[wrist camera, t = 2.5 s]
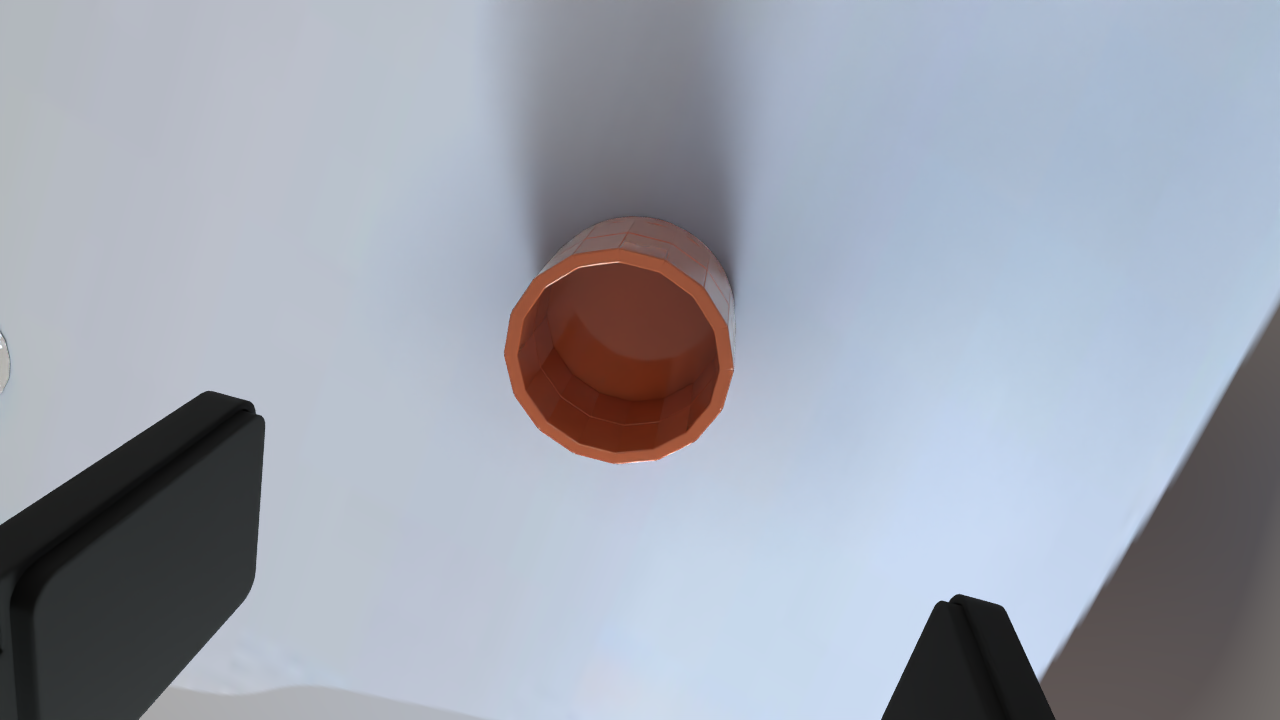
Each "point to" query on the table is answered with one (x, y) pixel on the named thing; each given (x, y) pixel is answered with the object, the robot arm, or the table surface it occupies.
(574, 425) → the small cup
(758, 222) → the table surface
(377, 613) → the table surface
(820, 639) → the table surface
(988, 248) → the table surface
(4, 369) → the wineglass
